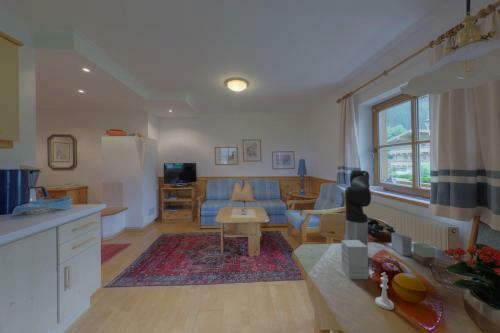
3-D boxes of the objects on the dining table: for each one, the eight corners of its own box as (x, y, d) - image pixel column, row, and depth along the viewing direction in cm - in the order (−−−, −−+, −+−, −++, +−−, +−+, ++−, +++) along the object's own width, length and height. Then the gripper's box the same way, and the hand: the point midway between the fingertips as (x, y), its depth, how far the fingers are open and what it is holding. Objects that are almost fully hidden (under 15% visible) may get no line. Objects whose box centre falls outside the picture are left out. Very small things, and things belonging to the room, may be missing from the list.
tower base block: (423, 266, 86) (423, 257, 86) (413, 260, 91) (413, 252, 91) (434, 266, 86) (434, 257, 86) (424, 260, 91) (424, 251, 91)
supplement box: (359, 269, 84) (359, 239, 83) (368, 280, 76) (368, 247, 76) (341, 269, 84) (340, 239, 84) (348, 279, 77) (348, 246, 77)
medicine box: (412, 256, 95) (412, 238, 95) (402, 256, 96) (402, 238, 95) (399, 249, 103) (399, 232, 103) (391, 249, 103) (391, 232, 103)
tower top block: (423, 257, 86) (423, 247, 86) (413, 252, 91) (413, 243, 91) (434, 257, 86) (434, 247, 86) (424, 251, 91) (424, 243, 91)
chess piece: (387, 311, 60) (387, 278, 60) (371, 301, 64) (371, 270, 64) (397, 306, 62) (397, 274, 62) (381, 297, 66) (381, 267, 66)
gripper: (358, 218, 127) (373, 225, 110) (380, 217, 126) (399, 225, 110) (358, 229, 127) (373, 239, 111) (381, 229, 126) (399, 239, 110)
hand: (386, 232), depth 110 cm, fingers open, 8 cm apart
